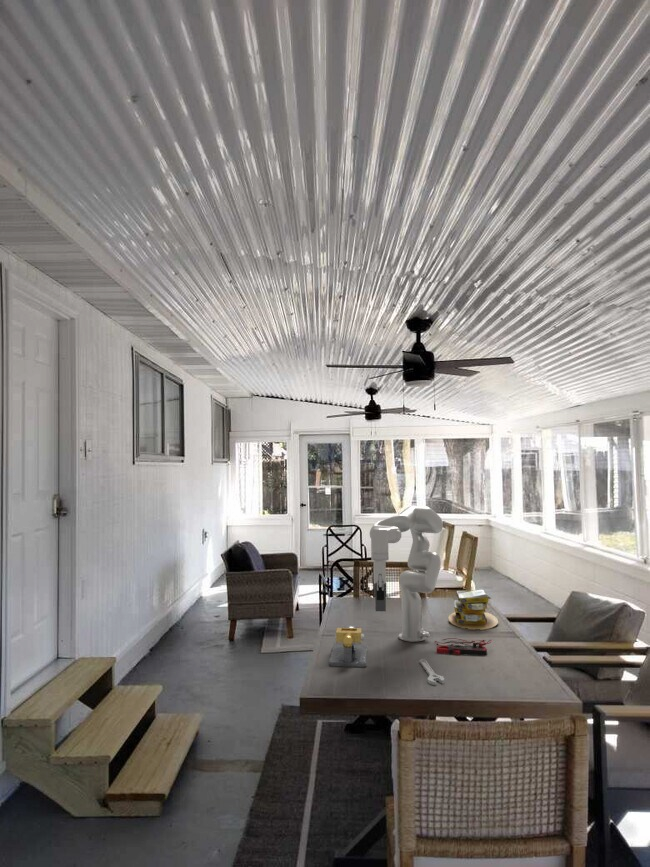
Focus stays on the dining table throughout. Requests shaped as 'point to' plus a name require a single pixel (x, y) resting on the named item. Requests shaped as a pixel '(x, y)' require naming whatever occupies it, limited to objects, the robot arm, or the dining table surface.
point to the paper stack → (472, 610)
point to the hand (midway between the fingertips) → (380, 599)
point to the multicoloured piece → (349, 648)
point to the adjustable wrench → (431, 673)
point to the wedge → (380, 604)
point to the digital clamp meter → (463, 648)
